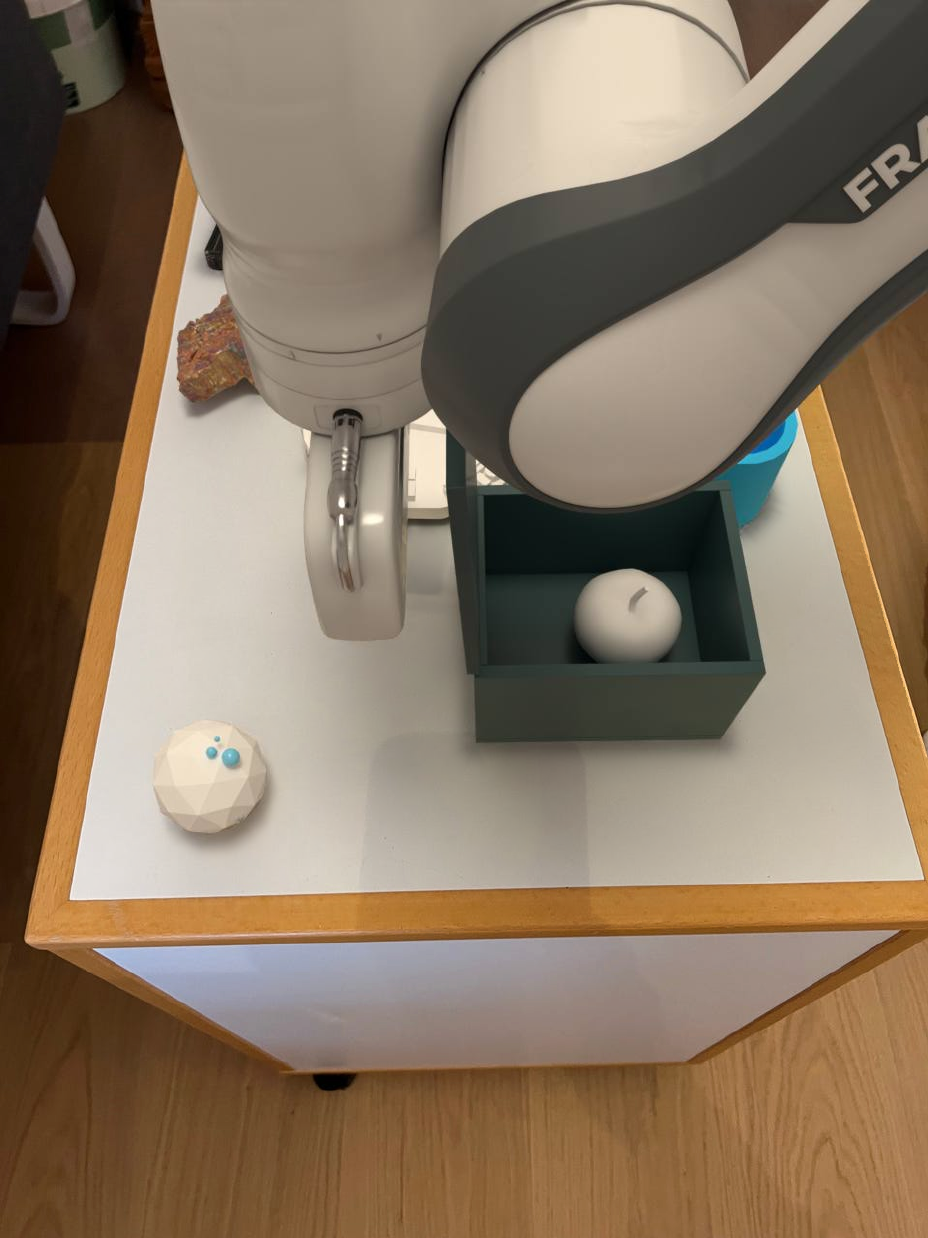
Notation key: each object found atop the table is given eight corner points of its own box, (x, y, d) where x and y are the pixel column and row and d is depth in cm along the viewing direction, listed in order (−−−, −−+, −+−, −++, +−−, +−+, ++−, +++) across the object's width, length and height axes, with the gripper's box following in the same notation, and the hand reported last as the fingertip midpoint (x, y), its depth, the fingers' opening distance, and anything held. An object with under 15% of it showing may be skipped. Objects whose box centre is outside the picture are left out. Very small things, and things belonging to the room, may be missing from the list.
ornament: (188, 863, 56) (145, 831, 49) (163, 764, 59) (119, 721, 52) (289, 822, 57) (262, 785, 50) (259, 727, 60) (229, 680, 53)
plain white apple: (671, 693, 60) (696, 641, 52) (567, 686, 60) (578, 633, 53) (669, 604, 63) (692, 544, 56) (570, 597, 63) (581, 537, 56)
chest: (694, 567, 65) (729, 479, 56) (720, 739, 59) (766, 673, 49) (473, 571, 65) (470, 484, 56) (475, 743, 59) (473, 678, 49)
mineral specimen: (285, 410, 71) (223, 356, 66) (220, 437, 75) (157, 388, 70) (311, 304, 76) (256, 247, 72) (249, 335, 80) (193, 282, 76)
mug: (765, 536, 66) (799, 470, 59) (657, 524, 67) (678, 457, 60) (763, 416, 72) (794, 342, 65) (664, 406, 73) (684, 331, 65)
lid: (463, 248, 40) (446, 249, 40) (466, 488, 34) (445, 489, 34) (477, 480, 55) (464, 480, 55) (480, 674, 49) (466, 675, 49)
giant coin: (394, 308, 79) (391, 282, 76) (588, 393, 73) (591, 368, 71) (258, 459, 71) (249, 436, 68) (463, 566, 66) (462, 545, 63)
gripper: (427, 541, 30) (438, 696, 43) (431, 167, 40) (439, 381, 52) (246, 543, 30) (309, 697, 43) (294, 168, 40) (334, 382, 52)
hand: (381, 521), depth 47 cm, fingers open, 8 cm apart
